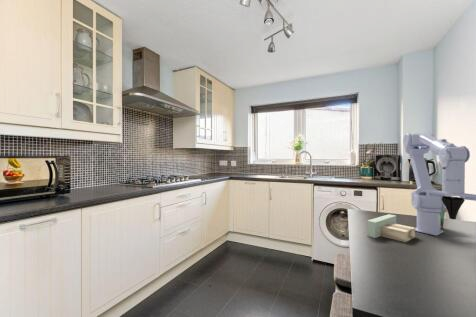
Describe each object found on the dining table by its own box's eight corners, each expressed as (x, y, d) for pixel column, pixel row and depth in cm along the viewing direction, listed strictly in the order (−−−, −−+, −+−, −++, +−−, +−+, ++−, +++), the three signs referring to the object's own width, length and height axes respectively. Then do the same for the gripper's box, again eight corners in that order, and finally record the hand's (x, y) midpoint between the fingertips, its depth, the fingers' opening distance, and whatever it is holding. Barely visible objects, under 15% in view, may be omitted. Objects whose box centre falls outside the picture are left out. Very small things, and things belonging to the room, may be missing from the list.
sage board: (388, 227, 98) (388, 214, 98) (396, 229, 96) (396, 215, 96) (366, 235, 87) (367, 220, 87) (375, 238, 84) (375, 222, 84)
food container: (454, 232, 94) (454, 208, 94) (437, 230, 95) (438, 207, 95) (434, 224, 106) (434, 203, 106) (419, 223, 107) (420, 202, 107)
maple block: (391, 232, 93) (391, 222, 93) (415, 238, 86) (415, 227, 86) (381, 236, 87) (381, 226, 87) (405, 243, 81) (405, 232, 81)
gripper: (423, 179, 82) (423, 215, 82) (481, 182, 70) (480, 225, 70) (429, 178, 86) (429, 213, 86) (485, 181, 74) (484, 222, 74)
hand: (452, 218), depth 78 cm, fingers closed
